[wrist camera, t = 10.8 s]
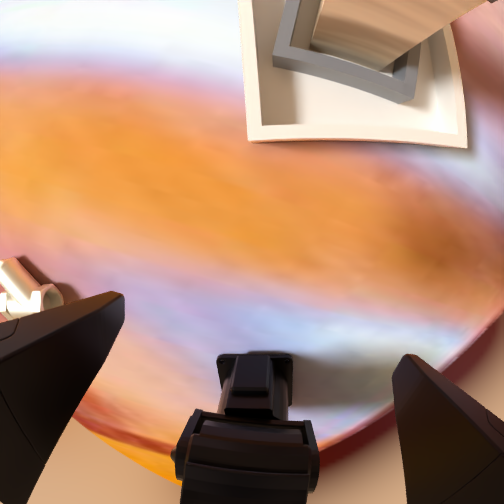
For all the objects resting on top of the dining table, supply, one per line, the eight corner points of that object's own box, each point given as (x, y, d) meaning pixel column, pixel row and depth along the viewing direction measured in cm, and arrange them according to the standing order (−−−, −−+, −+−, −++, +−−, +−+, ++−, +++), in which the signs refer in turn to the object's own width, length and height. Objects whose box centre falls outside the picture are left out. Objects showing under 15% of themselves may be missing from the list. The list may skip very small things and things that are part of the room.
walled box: (441, 146, 17) (467, 148, 14) (252, 142, 19) (247, 140, 15) (410, -28, 12) (425, -46, 9) (238, -41, 14) (232, -65, 10)
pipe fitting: (8, 255, 24) (25, 311, 26) (-15, 265, 21) (4, 325, 22) (50, 246, 23) (69, 311, 25) (23, 258, 20) (46, 328, 21)
